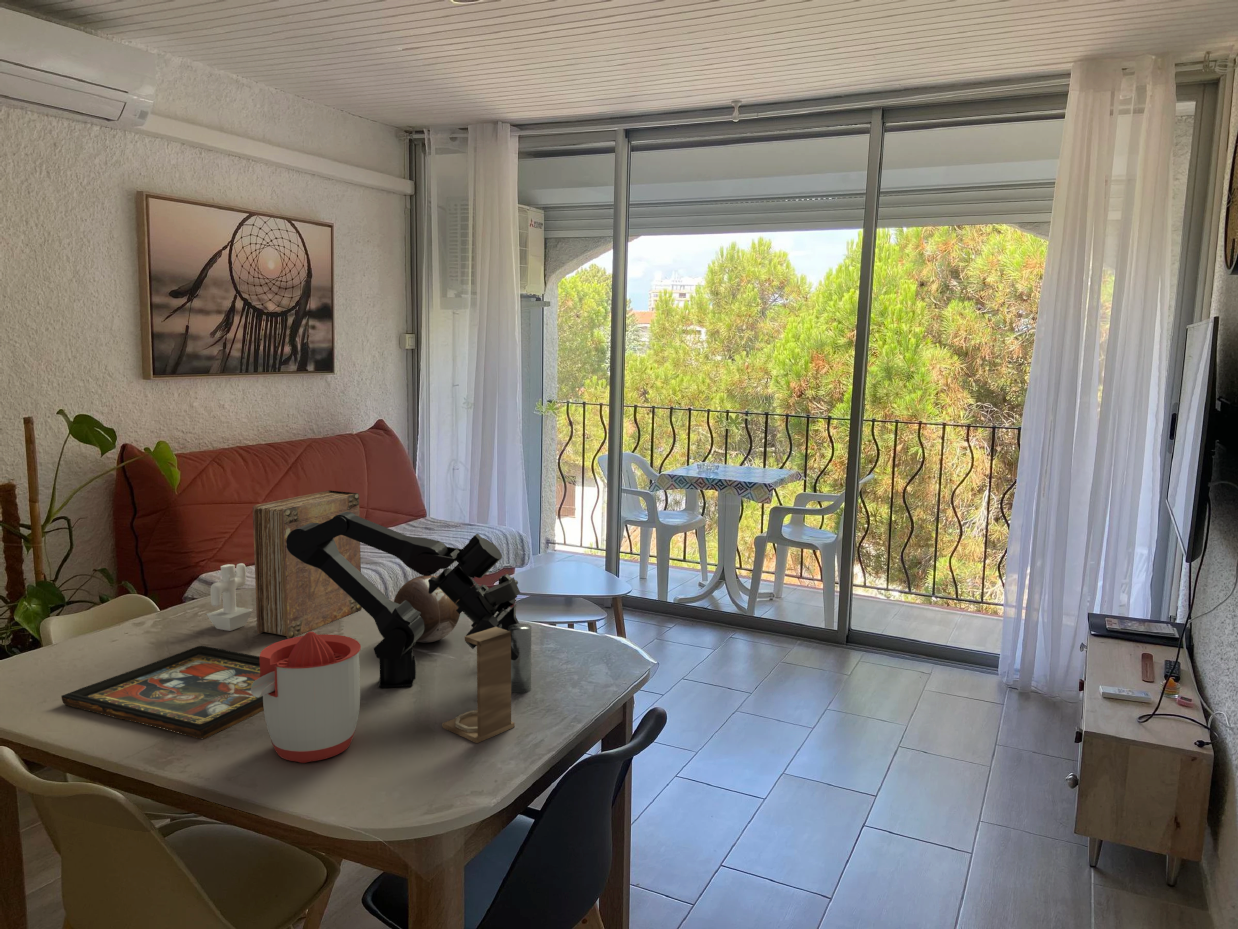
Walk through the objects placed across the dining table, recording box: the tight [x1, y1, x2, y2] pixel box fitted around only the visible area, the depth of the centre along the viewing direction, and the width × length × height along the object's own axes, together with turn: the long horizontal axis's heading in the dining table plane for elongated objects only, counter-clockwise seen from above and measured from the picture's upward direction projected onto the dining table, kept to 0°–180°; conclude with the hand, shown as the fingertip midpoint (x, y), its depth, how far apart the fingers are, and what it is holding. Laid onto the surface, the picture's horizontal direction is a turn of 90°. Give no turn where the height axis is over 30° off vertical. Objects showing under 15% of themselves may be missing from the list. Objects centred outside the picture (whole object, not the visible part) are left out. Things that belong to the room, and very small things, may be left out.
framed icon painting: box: [61, 645, 264, 740], centre depth 167 cm, size 38×35×3 cm
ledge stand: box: [441, 627, 516, 744], centre depth 152 cm, size 9×9×18 cm
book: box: [252, 490, 363, 639], centre depth 208 cm, size 25×9×30 cm, turn 157°
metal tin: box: [509, 623, 532, 694], centre depth 170 cm, size 4×4×12 cm
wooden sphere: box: [393, 574, 461, 644], centre depth 197 cm, size 15×15×15 cm
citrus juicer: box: [251, 630, 362, 764], centre depth 143 cm, size 16×17×20 cm
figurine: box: [205, 562, 254, 632], centre depth 204 cm, size 7×9×15 cm
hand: (521, 650), depth 170 cm, fingers open, 9 cm apart
